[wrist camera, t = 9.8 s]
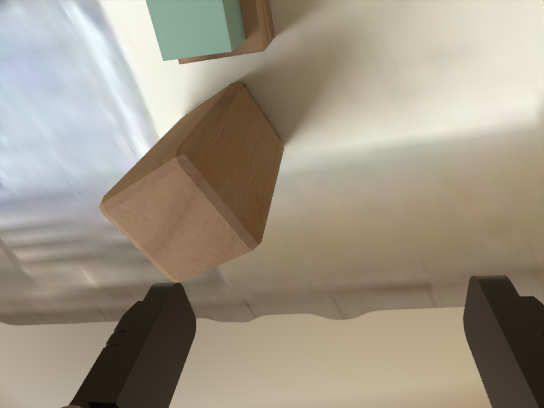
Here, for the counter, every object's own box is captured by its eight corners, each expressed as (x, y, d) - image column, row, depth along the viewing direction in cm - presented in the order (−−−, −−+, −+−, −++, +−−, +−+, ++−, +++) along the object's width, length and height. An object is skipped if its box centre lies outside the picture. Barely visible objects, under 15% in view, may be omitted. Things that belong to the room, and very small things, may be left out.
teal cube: (233, -36, 28) (215, -37, 24) (245, 39, 31) (231, 51, 26) (168, -24, 29) (139, -23, 25) (186, 48, 32) (163, 60, 27)
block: (287, 146, 44) (264, 250, 28) (225, 180, 48) (173, 290, 32) (241, 76, 41) (181, 148, 24) (177, 119, 44) (89, 208, 28)
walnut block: (261, -54, 34) (245, -61, 27) (274, 37, 38) (263, 50, 31) (183, -37, 35) (149, -39, 29) (204, 48, 40) (179, 64, 33)
